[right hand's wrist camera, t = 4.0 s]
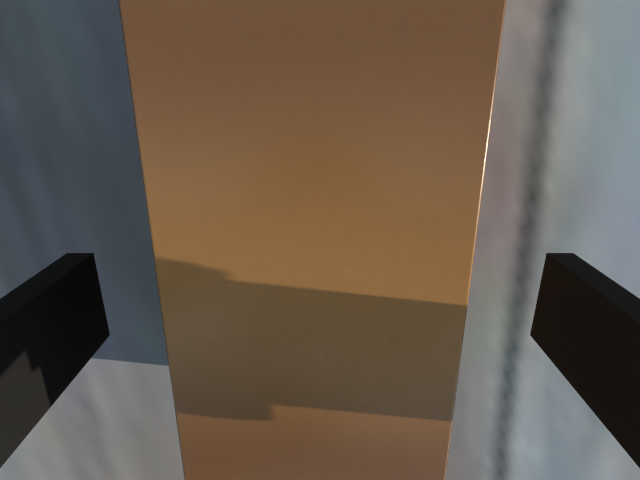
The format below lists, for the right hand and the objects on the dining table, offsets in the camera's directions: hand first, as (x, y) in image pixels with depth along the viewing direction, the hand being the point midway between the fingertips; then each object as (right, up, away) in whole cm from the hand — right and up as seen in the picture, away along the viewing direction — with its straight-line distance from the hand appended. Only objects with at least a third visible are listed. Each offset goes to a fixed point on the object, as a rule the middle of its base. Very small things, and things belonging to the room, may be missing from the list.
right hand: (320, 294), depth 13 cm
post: (0, +24, -4) cm, 24 cm away
